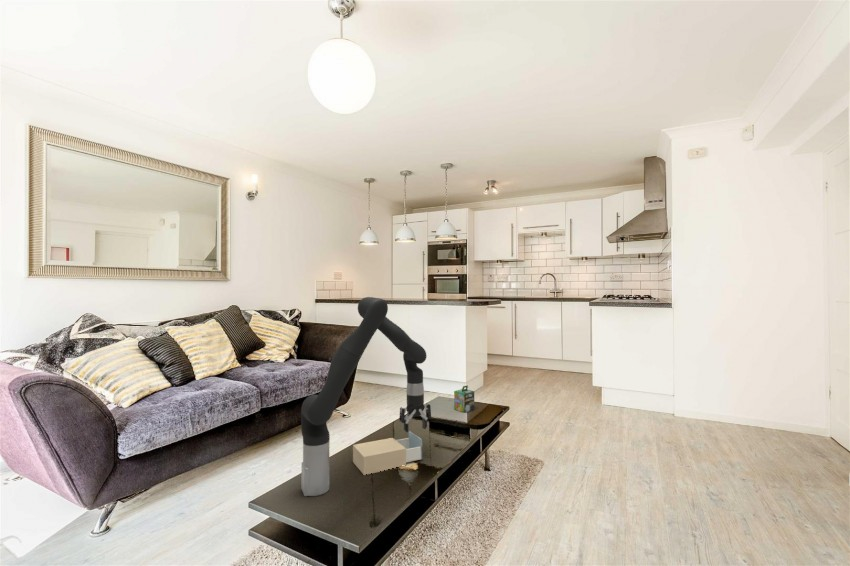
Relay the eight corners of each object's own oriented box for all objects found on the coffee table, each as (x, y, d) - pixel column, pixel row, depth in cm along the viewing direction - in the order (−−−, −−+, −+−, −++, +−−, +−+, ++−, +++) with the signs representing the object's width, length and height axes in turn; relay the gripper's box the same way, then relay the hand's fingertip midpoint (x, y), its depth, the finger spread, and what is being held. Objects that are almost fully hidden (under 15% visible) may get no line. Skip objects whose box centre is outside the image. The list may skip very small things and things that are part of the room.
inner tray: (365, 471, 154) (365, 450, 154) (356, 460, 165) (356, 440, 165) (422, 458, 166) (422, 439, 166) (409, 449, 176) (409, 430, 177)
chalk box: (464, 406, 246) (464, 383, 247) (475, 410, 239) (474, 385, 240) (453, 409, 241) (453, 385, 241) (464, 413, 234) (464, 387, 234)
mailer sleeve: (363, 475, 153) (363, 457, 153) (352, 461, 165) (353, 444, 165) (405, 465, 161) (405, 448, 161) (392, 453, 173) (392, 437, 174)
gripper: (403, 396, 165) (404, 435, 165) (433, 392, 172) (434, 429, 171) (396, 392, 172) (397, 430, 171) (425, 388, 178) (426, 424, 178)
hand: (415, 430), depth 171 cm, fingers open, 8 cm apart
